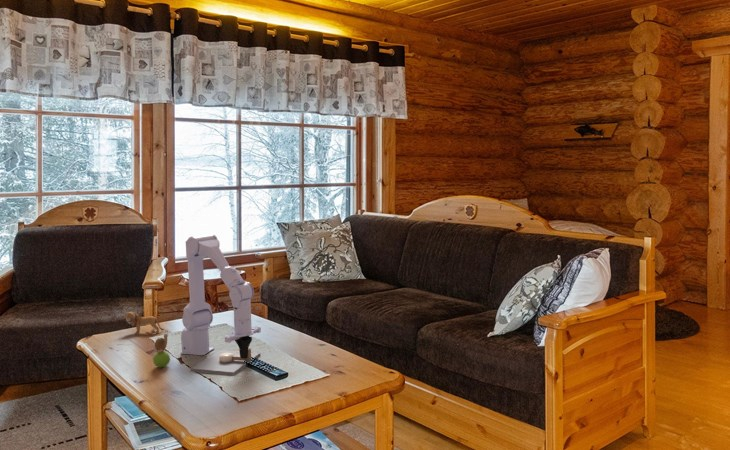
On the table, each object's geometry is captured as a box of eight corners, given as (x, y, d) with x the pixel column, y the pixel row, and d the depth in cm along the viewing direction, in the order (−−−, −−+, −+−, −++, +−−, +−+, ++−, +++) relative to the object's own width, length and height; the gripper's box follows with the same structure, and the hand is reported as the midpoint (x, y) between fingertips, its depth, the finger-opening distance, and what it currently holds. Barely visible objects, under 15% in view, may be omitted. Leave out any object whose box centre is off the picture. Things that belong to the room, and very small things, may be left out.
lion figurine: (125, 335, 249) (124, 313, 248) (128, 331, 255) (126, 310, 254) (163, 333, 252) (162, 311, 251) (165, 329, 257) (164, 308, 256)
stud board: (190, 371, 207) (190, 368, 207) (220, 352, 226) (220, 349, 226) (238, 375, 202) (238, 372, 202) (264, 355, 221) (264, 352, 221)
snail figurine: (175, 364, 214) (173, 330, 213) (163, 370, 208) (161, 335, 207) (162, 362, 216) (160, 329, 215) (150, 368, 210) (148, 334, 209)
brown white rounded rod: (216, 361, 212) (215, 349, 212) (223, 357, 217) (222, 345, 217) (248, 363, 210) (247, 351, 209) (254, 359, 214) (253, 347, 214)
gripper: (234, 325, 201) (236, 366, 203) (266, 315, 213) (267, 354, 214) (219, 322, 205) (221, 361, 207) (252, 312, 217) (253, 350, 218)
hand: (244, 357), depth 211 cm, fingers closed, pressing on brown white rounded rod
